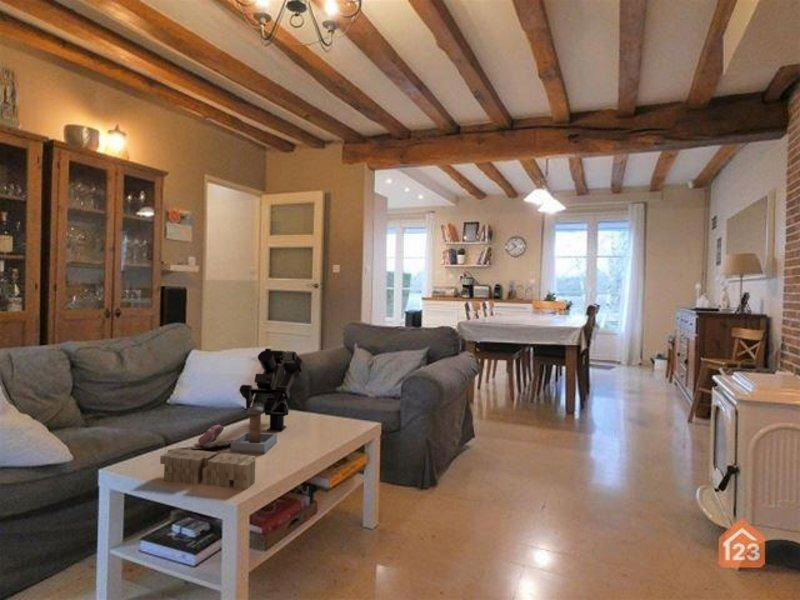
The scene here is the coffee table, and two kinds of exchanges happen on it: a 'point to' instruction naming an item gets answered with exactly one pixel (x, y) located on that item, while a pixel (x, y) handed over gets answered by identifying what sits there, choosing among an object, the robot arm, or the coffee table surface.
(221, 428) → the pink toy car
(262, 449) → the tray
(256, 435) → the pin
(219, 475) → the block tower
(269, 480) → the coffee table surface
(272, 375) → the robot arm
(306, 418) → the coffee table surface
